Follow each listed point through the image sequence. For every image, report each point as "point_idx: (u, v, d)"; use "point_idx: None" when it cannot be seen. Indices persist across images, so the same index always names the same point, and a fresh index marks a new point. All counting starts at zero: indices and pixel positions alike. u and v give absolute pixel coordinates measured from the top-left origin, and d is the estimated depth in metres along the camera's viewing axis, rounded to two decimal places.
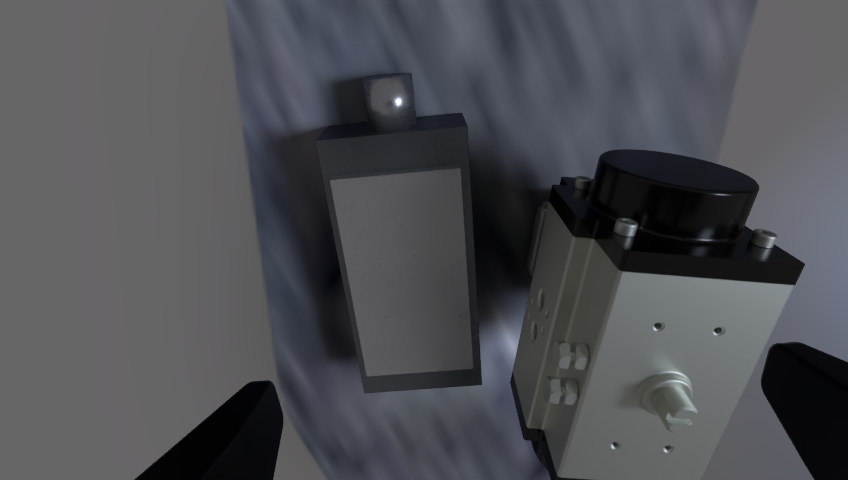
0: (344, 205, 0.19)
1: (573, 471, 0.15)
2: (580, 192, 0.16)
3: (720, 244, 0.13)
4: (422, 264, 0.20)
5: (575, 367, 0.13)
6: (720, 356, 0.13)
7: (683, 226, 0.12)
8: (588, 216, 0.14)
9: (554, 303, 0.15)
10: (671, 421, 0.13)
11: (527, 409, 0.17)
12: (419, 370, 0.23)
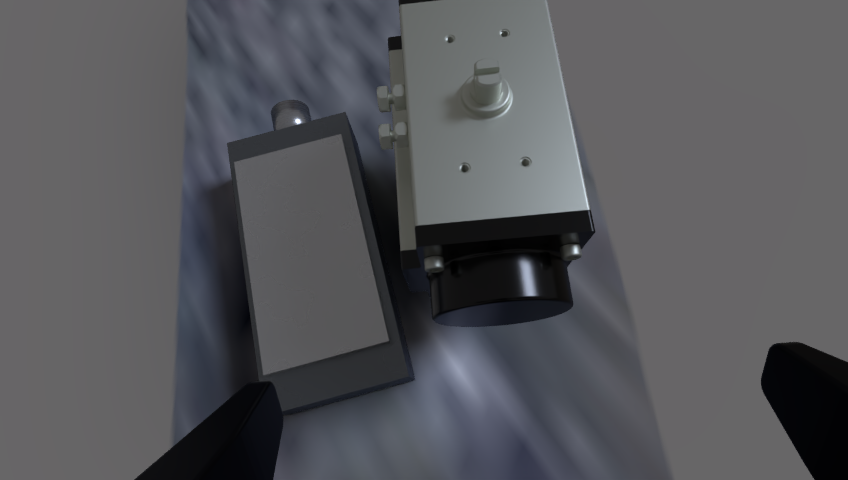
0: (245, 180, 0.22)
1: (429, 212, 0.13)
2: None
3: None
4: (317, 222, 0.21)
5: (394, 95, 0.14)
6: (519, 53, 0.14)
7: None
8: None
9: (392, 111, 0.16)
10: (479, 78, 0.13)
11: None
12: (325, 354, 0.19)
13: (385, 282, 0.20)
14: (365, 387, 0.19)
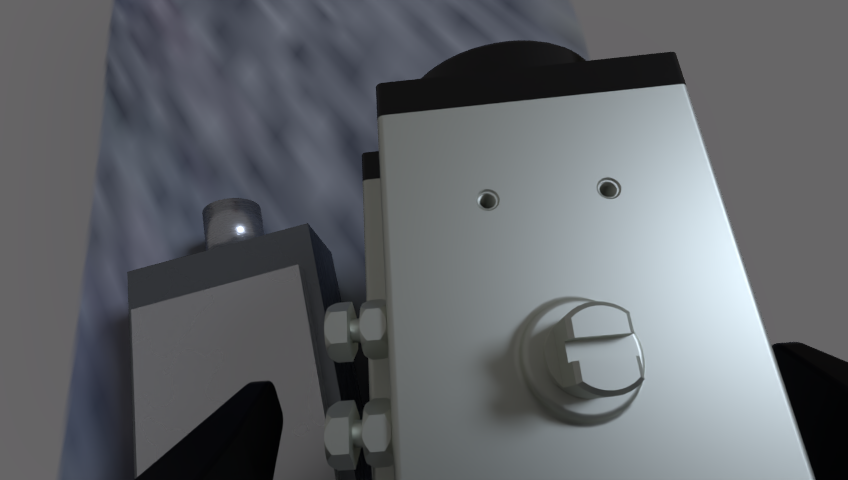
0: (145, 342, 0.14)
1: None
2: None
3: None
4: None
5: (363, 337, 0.06)
6: (648, 241, 0.06)
7: None
8: None
9: None
10: (581, 361, 0.05)
11: None
12: None
13: None
14: None
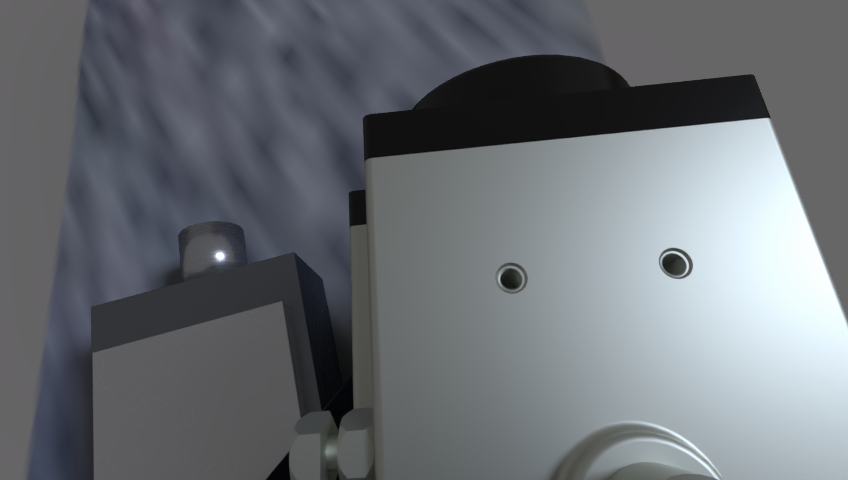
0: (108, 391, 0.12)
1: None
2: None
3: None
4: None
5: (342, 472, 0.04)
6: (733, 340, 0.04)
7: None
8: None
9: None
10: None
11: None
12: None
13: None
14: None
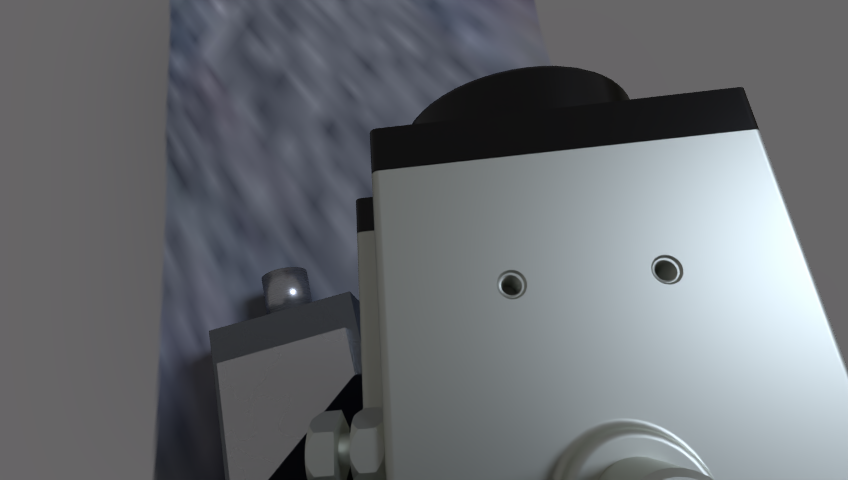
0: (230, 389, 0.18)
1: None
2: None
3: None
4: None
5: (354, 468, 0.05)
6: (721, 343, 0.05)
7: None
8: None
9: None
10: None
11: None
12: None
13: None
14: None
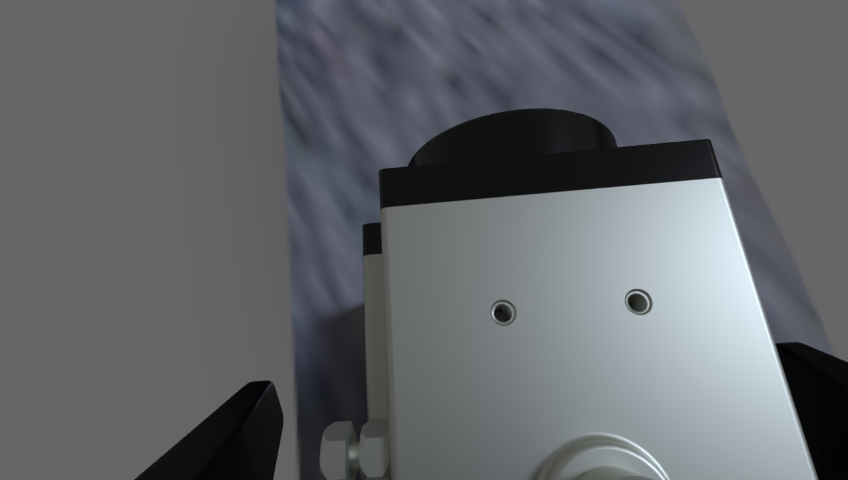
0: None
1: None
2: None
3: None
4: None
5: (363, 472, 0.06)
6: (683, 367, 0.05)
7: None
8: None
9: (367, 399, 0.08)
10: None
11: None
12: None
13: None
14: None
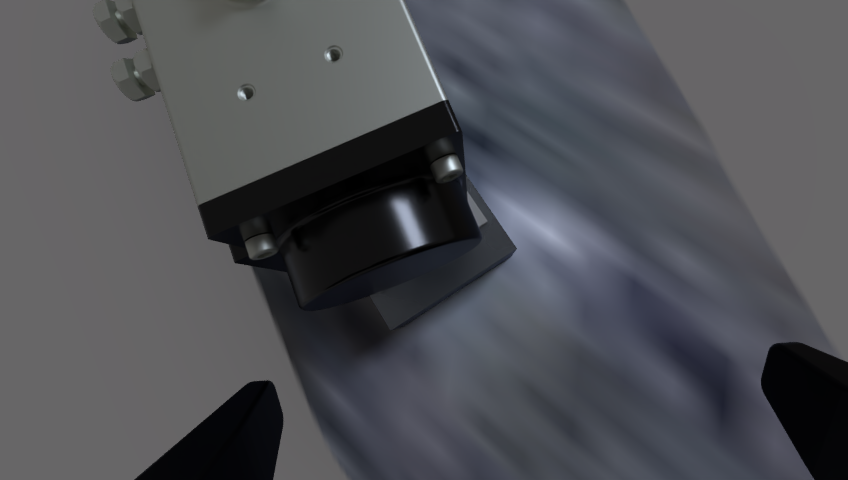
0: None
1: (212, 179, 0.08)
2: None
3: None
4: None
5: (120, 11, 0.09)
6: None
7: None
8: None
9: None
10: None
11: None
12: None
13: None
14: (478, 272, 0.19)
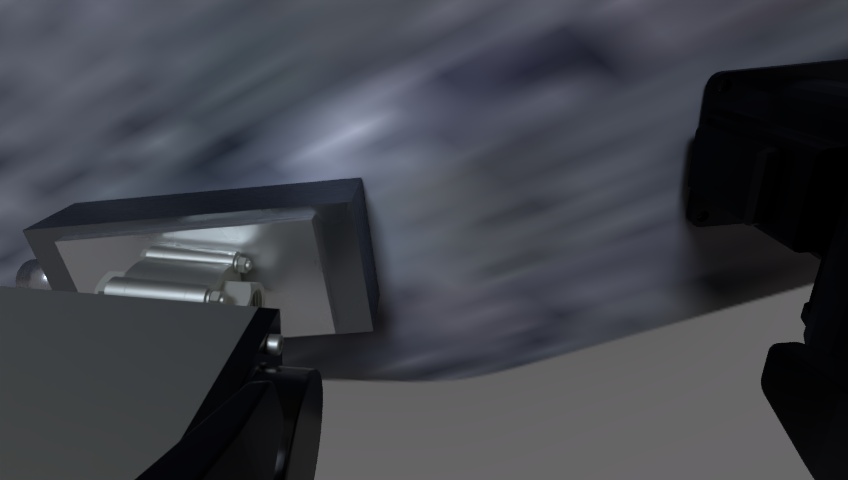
0: None
1: None
2: None
3: None
4: None
5: None
6: None
7: None
8: None
9: None
10: None
11: None
12: (320, 280, 0.19)
13: (247, 211, 0.18)
14: (357, 243, 0.19)
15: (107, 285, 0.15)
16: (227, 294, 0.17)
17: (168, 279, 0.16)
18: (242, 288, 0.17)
